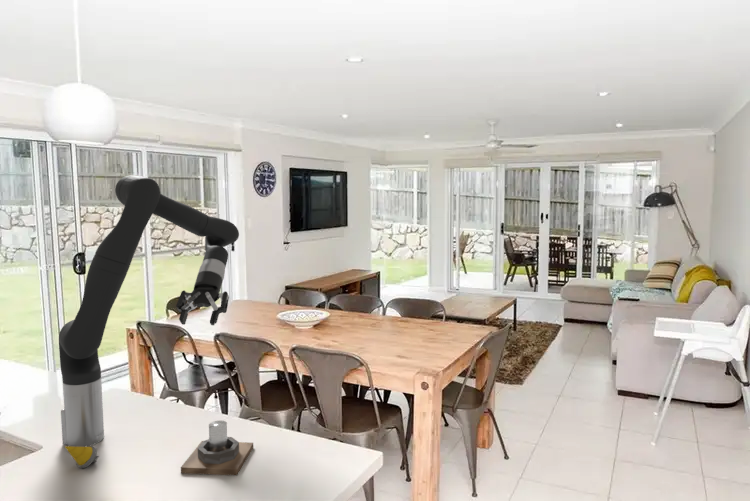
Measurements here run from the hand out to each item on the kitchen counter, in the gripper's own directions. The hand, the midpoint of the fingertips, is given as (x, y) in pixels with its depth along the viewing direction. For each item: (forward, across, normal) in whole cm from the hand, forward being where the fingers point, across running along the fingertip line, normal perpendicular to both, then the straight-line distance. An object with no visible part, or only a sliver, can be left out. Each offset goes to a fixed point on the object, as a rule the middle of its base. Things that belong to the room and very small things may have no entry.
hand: (197, 323), depth 155 cm
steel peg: (+34, +12, +8) cm, 37 cm away
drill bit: (+39, -20, +4) cm, 44 cm away
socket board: (+35, +12, +8) cm, 38 cm away
